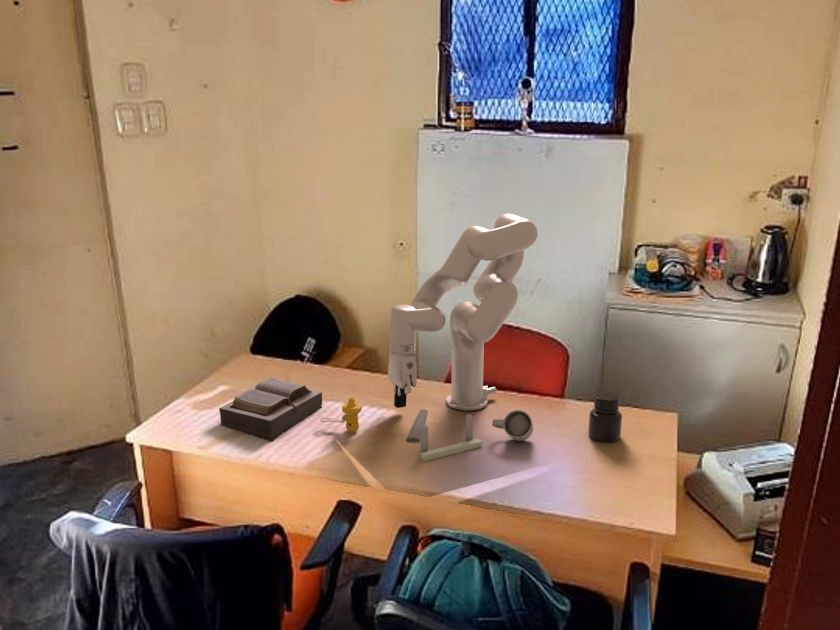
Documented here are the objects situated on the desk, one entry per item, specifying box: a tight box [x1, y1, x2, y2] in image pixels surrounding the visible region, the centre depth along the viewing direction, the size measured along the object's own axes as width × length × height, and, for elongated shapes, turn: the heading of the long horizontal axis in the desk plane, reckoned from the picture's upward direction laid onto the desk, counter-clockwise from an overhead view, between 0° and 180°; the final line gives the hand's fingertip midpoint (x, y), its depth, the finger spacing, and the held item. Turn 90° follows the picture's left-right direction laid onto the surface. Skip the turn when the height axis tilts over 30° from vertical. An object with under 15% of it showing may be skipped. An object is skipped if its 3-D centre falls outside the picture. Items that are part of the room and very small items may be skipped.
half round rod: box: [405, 408, 429, 442], centre depth 226 cm, size 4×20×2 cm, turn 170°
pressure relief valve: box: [319, 397, 363, 434], centre depth 222 cm, size 6×12×10 cm, turn 78°
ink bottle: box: [587, 390, 623, 442], centre depth 219 cm, size 10×9×12 cm
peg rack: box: [419, 414, 483, 462], centre depth 210 cm, size 18×4×8 cm, turn 119°
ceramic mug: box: [491, 409, 534, 442], centre depth 215 cm, size 11×8×8 cm
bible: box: [218, 376, 323, 443], centre depth 230 cm, size 23×27×10 cm
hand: (400, 406), depth 232 cm, fingers closed
